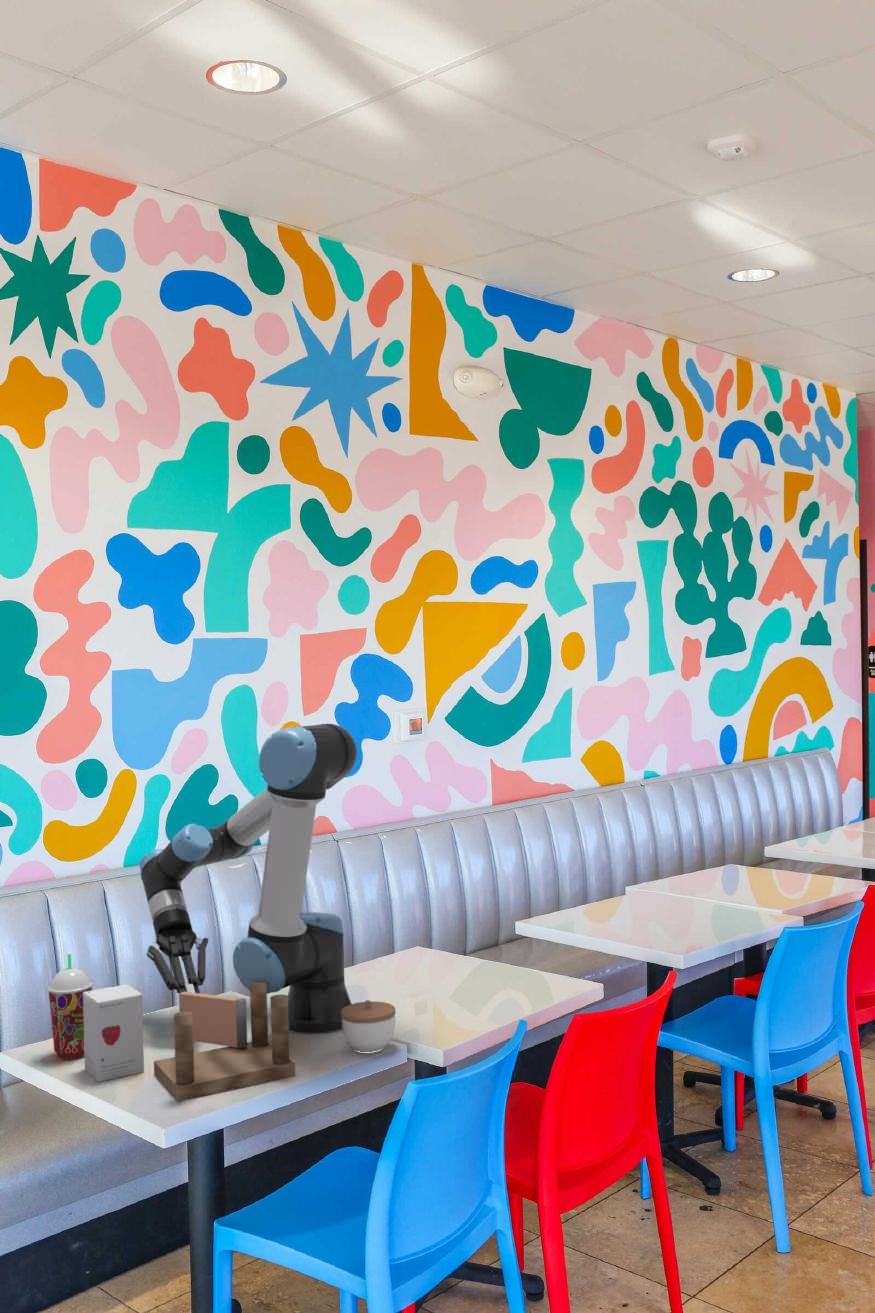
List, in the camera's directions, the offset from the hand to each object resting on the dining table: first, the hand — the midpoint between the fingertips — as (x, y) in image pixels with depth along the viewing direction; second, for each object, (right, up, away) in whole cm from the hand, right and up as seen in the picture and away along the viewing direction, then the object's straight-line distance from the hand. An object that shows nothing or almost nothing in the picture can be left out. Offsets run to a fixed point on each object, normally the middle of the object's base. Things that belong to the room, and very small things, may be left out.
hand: (195, 1016), depth 232 cm
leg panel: (+5, -4, -5) cm, 8 cm away
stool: (+9, -6, -15) cm, 18 cm away
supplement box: (-13, -7, -11) cm, 19 cm away
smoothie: (-24, -8, -1) cm, 25 cm away
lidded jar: (+35, -6, -3) cm, 36 cm away
